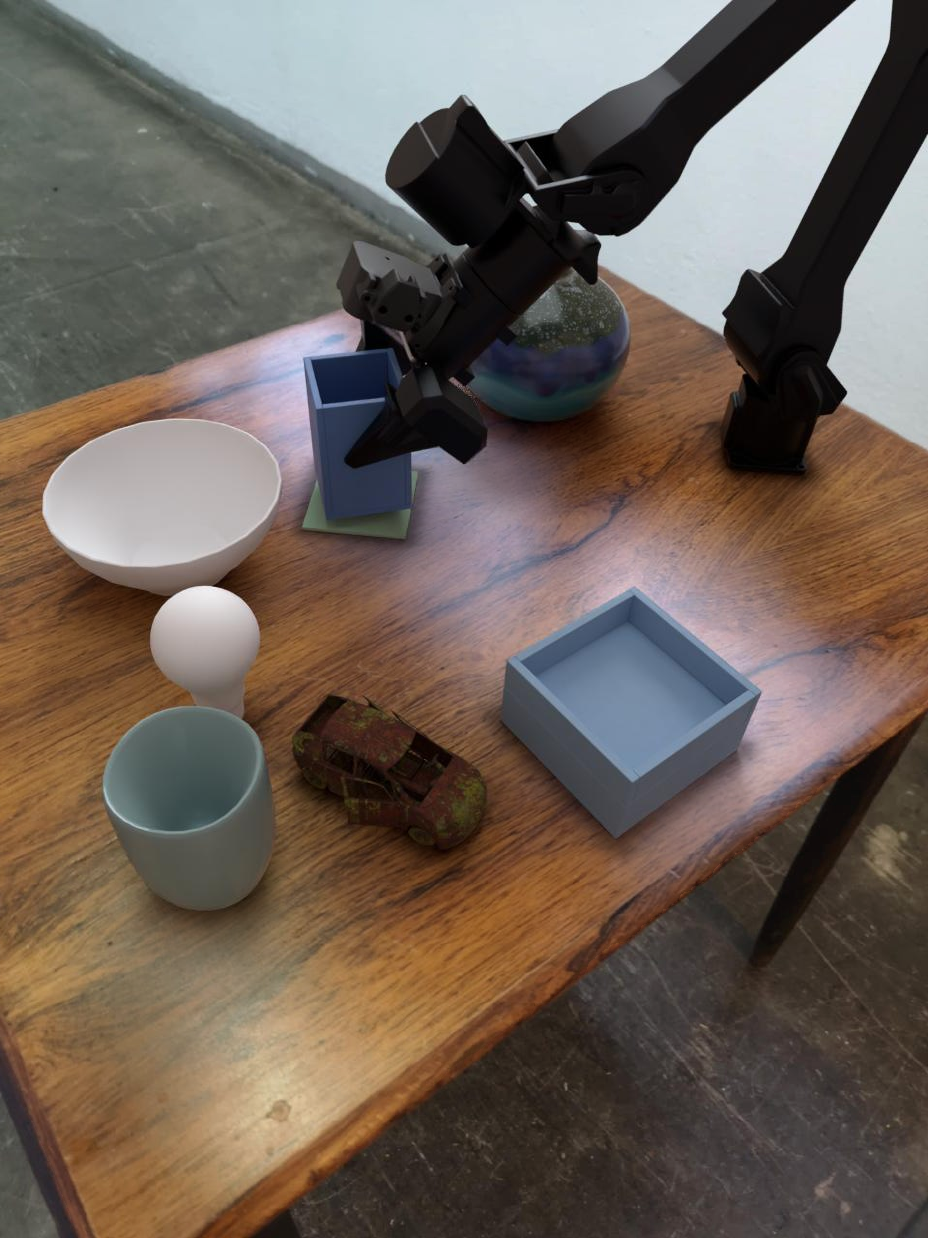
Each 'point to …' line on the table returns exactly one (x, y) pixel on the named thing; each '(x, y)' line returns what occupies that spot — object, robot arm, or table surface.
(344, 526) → the mat
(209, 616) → the lightbulb
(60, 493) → the bowl
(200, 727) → the cup
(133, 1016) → the table surface
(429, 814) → the toy car
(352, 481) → the upper bin
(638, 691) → the lower bin
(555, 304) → the vase
